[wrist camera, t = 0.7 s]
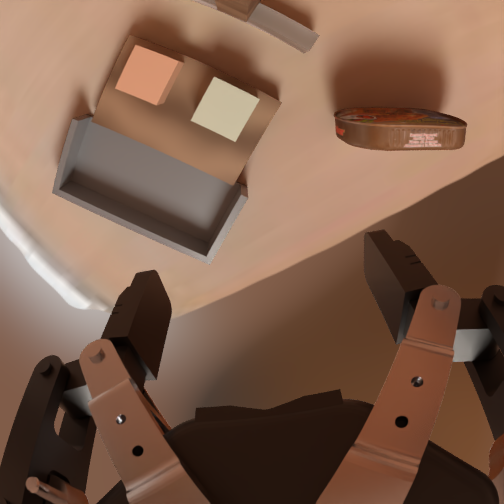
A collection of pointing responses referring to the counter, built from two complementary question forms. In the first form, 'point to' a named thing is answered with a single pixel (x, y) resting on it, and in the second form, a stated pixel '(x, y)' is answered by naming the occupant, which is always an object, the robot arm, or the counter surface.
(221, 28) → the counter surface
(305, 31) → the cube on grey rod
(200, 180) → the box
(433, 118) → the tin
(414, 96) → the counter surface
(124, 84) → the salmon pink cube
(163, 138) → the walnut board
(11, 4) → the counter surface
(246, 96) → the cream block
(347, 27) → the counter surface
